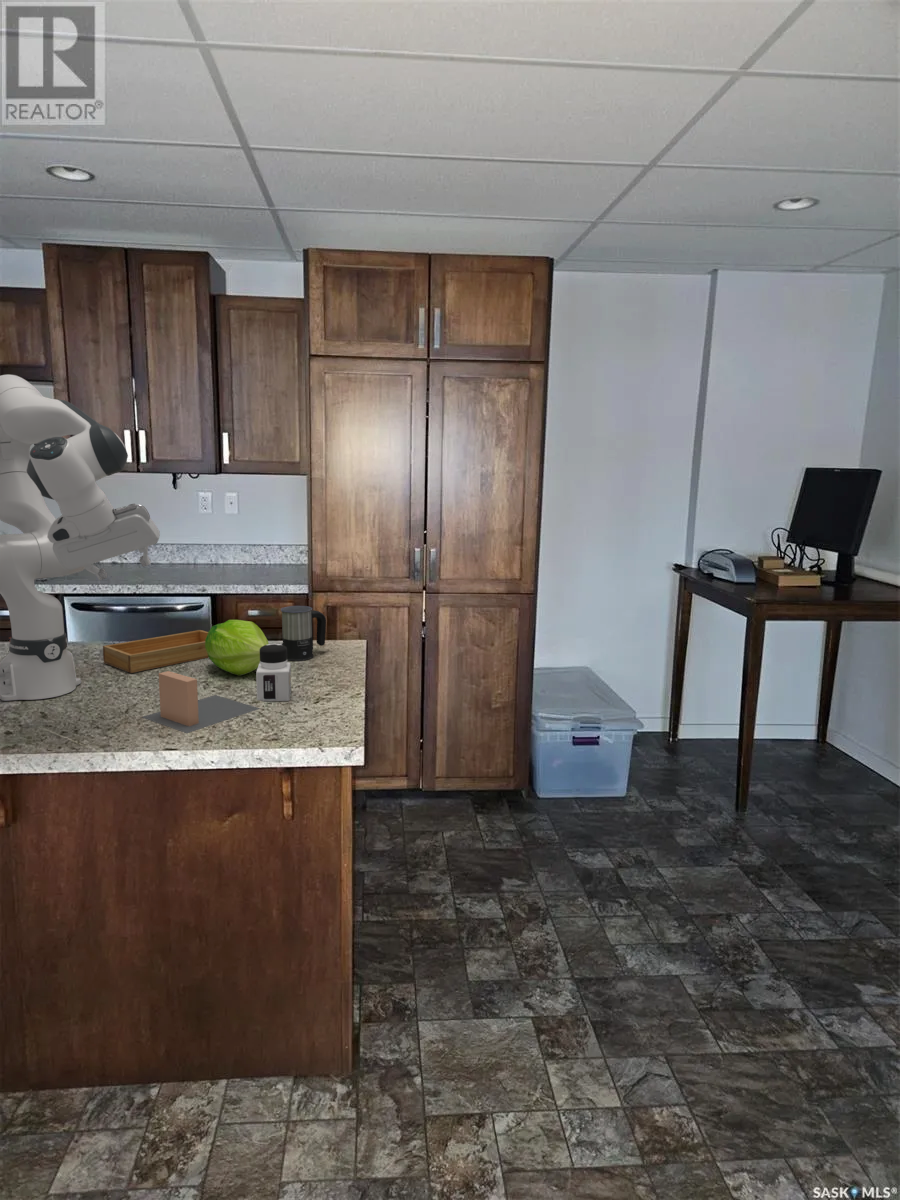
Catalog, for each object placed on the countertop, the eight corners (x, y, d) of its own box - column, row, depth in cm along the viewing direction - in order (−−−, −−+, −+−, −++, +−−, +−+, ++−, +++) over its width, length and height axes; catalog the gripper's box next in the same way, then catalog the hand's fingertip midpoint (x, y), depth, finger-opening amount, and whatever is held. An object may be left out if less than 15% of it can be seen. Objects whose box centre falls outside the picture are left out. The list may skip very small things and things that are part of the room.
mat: (141, 719, 163) (141, 717, 163) (215, 696, 179) (215, 695, 179) (187, 735, 154) (186, 733, 154) (260, 710, 170) (260, 708, 170)
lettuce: (291, 668, 202) (246, 688, 189) (236, 654, 214) (191, 673, 202) (284, 618, 197) (238, 636, 185) (229, 607, 210) (183, 623, 198)
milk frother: (297, 663, 211) (296, 612, 208) (259, 654, 219) (258, 605, 216) (330, 653, 222) (330, 605, 220) (293, 645, 231) (292, 599, 228)
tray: (200, 646, 229) (200, 628, 228) (229, 654, 219) (228, 636, 218) (103, 665, 205) (102, 645, 204) (130, 676, 196) (129, 655, 195)
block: (160, 716, 163) (158, 673, 161) (170, 713, 165) (168, 670, 164) (188, 726, 158) (187, 681, 156) (199, 723, 160) (197, 679, 158)
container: (289, 701, 177) (288, 649, 175) (256, 702, 176) (255, 650, 174) (291, 691, 185) (290, 641, 182) (259, 692, 184) (258, 642, 181)
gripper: (143, 493, 149) (174, 548, 157) (46, 524, 148) (82, 577, 157) (139, 508, 144) (171, 564, 152) (38, 539, 143) (76, 593, 152)
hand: (125, 571), depth 154 cm, fingers open, 8 cm apart
